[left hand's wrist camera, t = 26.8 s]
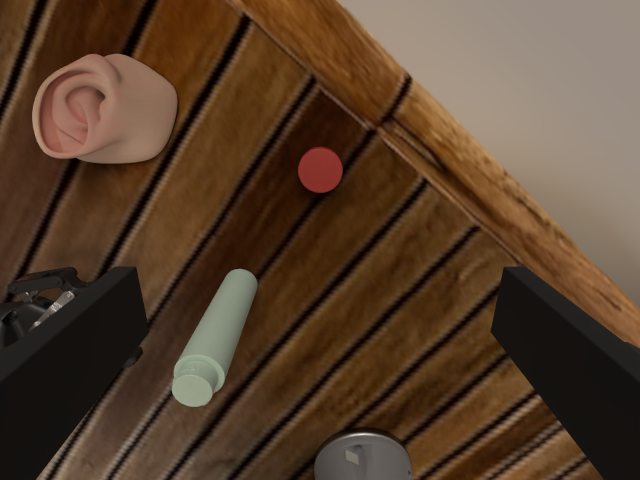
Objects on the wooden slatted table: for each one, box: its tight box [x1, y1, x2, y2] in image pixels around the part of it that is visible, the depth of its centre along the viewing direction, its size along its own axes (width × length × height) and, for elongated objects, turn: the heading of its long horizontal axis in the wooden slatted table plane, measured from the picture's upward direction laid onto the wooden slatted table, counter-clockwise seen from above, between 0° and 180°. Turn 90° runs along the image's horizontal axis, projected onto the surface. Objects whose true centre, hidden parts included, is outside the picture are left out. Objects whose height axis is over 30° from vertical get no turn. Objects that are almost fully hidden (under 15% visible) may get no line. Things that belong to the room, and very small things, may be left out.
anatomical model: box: [32, 54, 178, 163], centre depth 36 cm, size 13×4×12 cm
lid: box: [298, 147, 342, 193], centre depth 39 cm, size 5×5×2 cm
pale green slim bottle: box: [172, 269, 257, 407], centre depth 36 cm, size 4×4×18 cm
